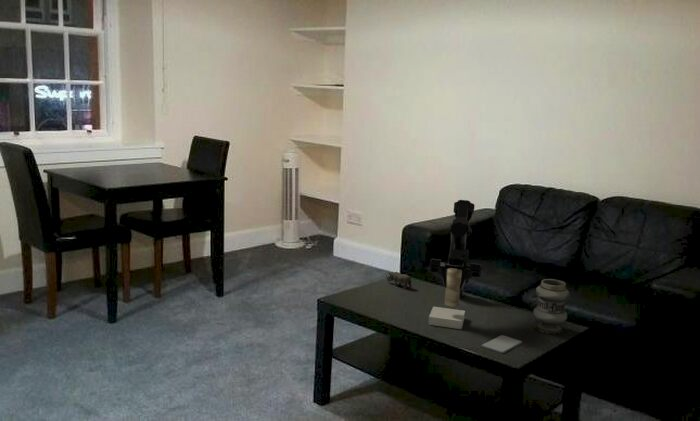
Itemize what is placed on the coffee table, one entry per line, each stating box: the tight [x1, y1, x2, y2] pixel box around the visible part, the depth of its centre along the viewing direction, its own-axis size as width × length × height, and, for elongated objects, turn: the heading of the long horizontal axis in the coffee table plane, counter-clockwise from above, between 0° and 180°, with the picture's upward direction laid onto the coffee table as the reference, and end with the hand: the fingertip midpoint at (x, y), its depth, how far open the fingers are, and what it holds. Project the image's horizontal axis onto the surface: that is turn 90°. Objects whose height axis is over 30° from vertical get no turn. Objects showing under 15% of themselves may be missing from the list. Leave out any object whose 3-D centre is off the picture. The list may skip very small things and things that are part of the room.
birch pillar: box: [443, 268, 462, 308], centre depth 245 cm, size 5×5×13 cm
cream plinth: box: [427, 306, 466, 330], centre depth 248 cm, size 12×12×3 cm
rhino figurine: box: [385, 271, 413, 290], centre depth 288 cm, size 4×14×6 cm, turn 46°
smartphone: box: [480, 334, 523, 355], centre depth 229 cm, size 8×1×15 cm
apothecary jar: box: [532, 278, 570, 334], centre depth 245 cm, size 12×12×18 cm
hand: (452, 288), depth 244 cm, fingers closed on birch pillar, 5 cm apart
